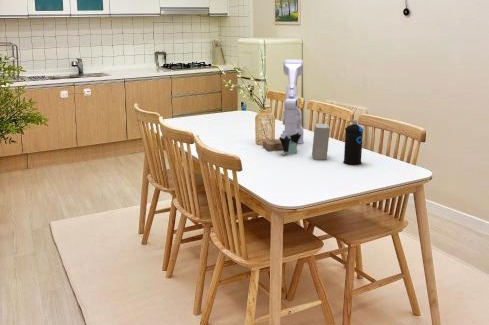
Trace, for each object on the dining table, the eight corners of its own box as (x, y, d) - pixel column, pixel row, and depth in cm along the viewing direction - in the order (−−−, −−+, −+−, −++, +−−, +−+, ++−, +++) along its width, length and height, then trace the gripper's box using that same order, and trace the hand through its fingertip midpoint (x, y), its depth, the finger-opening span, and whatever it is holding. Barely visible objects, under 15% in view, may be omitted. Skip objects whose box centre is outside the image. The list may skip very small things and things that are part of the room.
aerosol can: (341, 164, 239) (343, 120, 233) (345, 159, 246) (347, 117, 241) (359, 166, 236) (362, 122, 230) (362, 161, 243) (365, 118, 238)
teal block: (293, 151, 261) (293, 141, 260) (296, 153, 256) (296, 143, 255) (283, 151, 260) (283, 142, 259) (286, 154, 255) (287, 144, 254)
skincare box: (311, 155, 254) (312, 123, 249) (326, 155, 254) (327, 123, 249) (313, 160, 246) (314, 126, 241) (328, 160, 245) (330, 126, 241)
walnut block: (279, 146, 272) (279, 139, 271) (285, 150, 264) (285, 143, 263) (262, 147, 269) (262, 140, 268) (268, 152, 261) (269, 144, 260)
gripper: (291, 119, 262) (290, 146, 266) (275, 124, 251) (275, 151, 255) (303, 121, 258) (302, 148, 262) (288, 126, 247) (287, 153, 250)
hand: (290, 150), depth 258 cm, fingers closed on teal block, 7 cm apart
